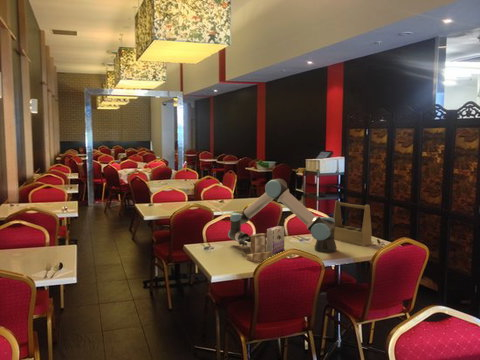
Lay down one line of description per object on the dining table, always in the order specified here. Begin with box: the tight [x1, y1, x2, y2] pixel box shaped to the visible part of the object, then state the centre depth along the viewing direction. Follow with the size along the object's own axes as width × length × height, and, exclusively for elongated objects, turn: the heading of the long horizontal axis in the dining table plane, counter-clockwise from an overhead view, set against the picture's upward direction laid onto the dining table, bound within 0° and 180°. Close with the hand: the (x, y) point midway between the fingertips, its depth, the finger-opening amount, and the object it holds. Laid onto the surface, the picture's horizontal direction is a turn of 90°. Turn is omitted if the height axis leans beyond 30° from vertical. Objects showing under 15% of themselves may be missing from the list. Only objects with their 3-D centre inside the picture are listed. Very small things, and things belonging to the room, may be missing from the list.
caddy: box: [332, 200, 373, 247], centre depth 337 cm, size 29×11×30 cm, turn 37°
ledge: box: [246, 251, 273, 263], centre depth 288 cm, size 14×8×5 cm, turn 120°
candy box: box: [266, 225, 285, 255], centre depth 309 cm, size 14×6×16 cm, turn 141°
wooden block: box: [250, 232, 267, 254], centre depth 298 cm, size 10×4×14 cm, turn 120°
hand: (258, 243), depth 297 cm, fingers open, 13 cm apart
